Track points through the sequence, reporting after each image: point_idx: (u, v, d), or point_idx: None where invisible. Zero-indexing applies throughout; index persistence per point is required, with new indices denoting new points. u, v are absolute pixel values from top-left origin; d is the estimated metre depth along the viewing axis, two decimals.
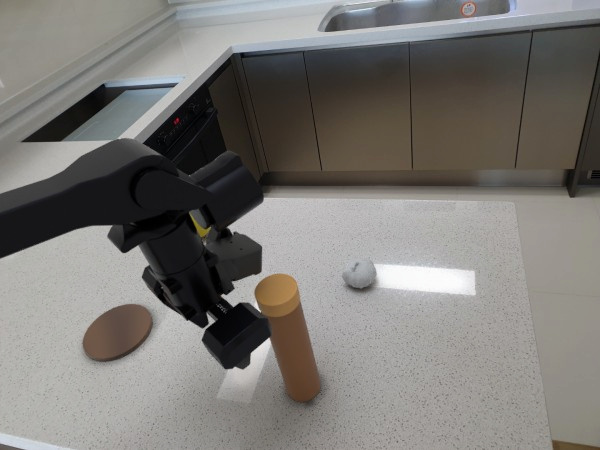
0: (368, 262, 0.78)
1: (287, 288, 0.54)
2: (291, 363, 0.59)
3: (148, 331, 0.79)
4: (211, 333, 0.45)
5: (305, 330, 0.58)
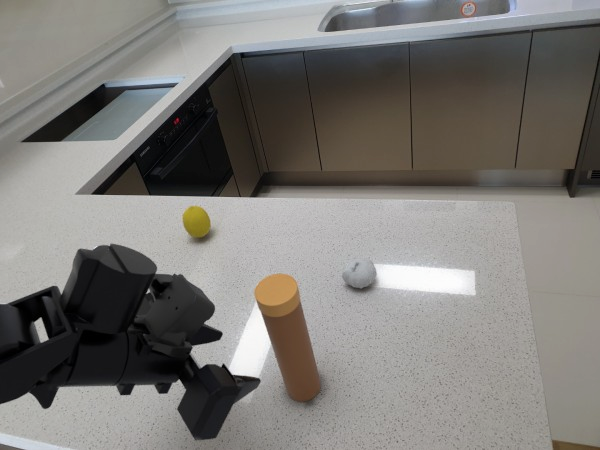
0: (368, 262, 0.78)
1: (287, 288, 0.54)
2: (291, 363, 0.59)
3: None
4: (181, 415, 0.44)
5: (305, 330, 0.58)
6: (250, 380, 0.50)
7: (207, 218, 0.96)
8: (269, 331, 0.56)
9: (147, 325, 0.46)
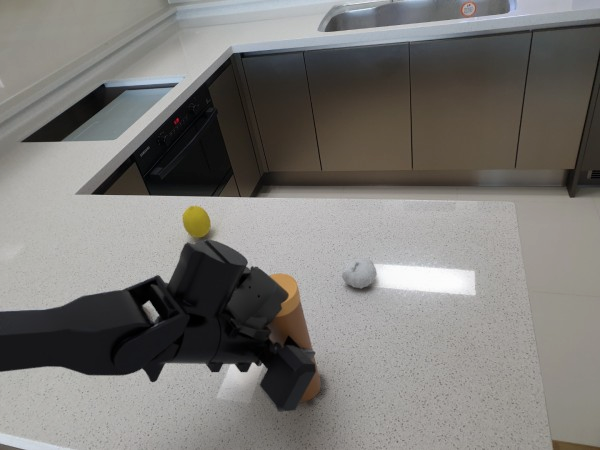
0: (368, 262, 0.78)
1: (287, 288, 0.54)
2: None
3: None
4: (264, 389, 0.50)
5: (305, 330, 0.58)
6: (308, 351, 0.57)
7: (207, 218, 0.96)
8: None
9: (231, 311, 0.52)
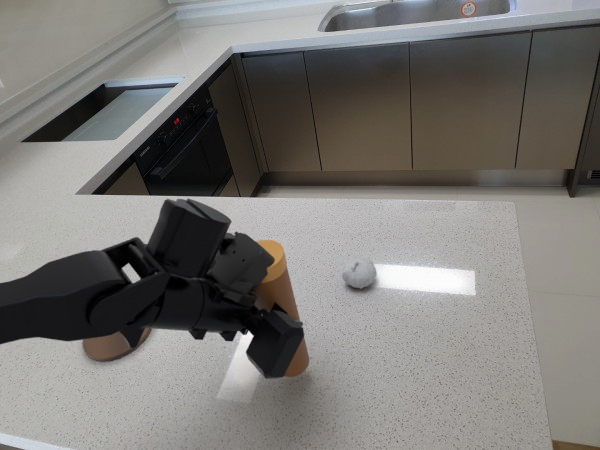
0: (368, 262, 0.78)
1: (273, 253, 0.52)
2: None
3: (148, 331, 0.79)
4: (250, 356, 0.48)
5: (292, 299, 0.56)
6: (295, 321, 0.56)
7: None
8: None
9: (215, 277, 0.50)
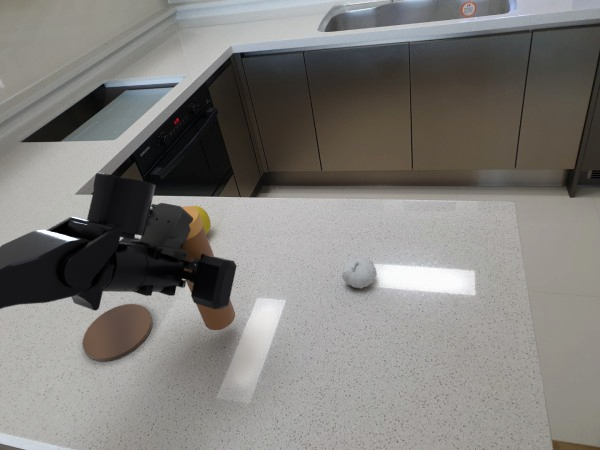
0: (368, 262, 0.78)
1: None
2: None
3: (148, 331, 0.79)
4: (197, 296, 0.57)
5: (212, 253, 0.65)
6: None
7: (207, 218, 0.96)
8: None
9: (146, 242, 0.57)
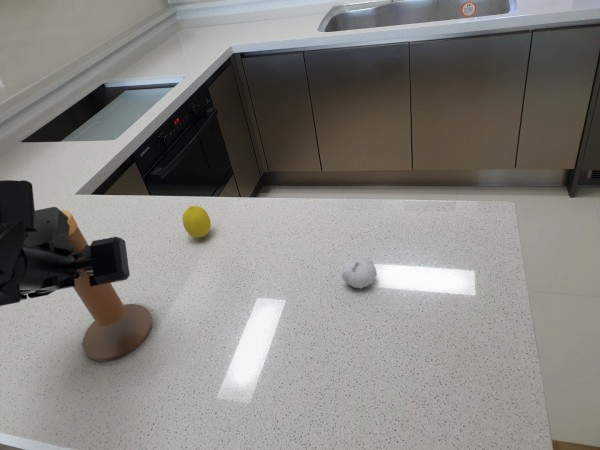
0: (368, 262, 0.78)
1: None
2: None
3: (148, 331, 0.79)
4: (100, 275, 0.63)
5: None
6: None
7: (207, 218, 0.96)
8: None
9: (33, 245, 0.61)
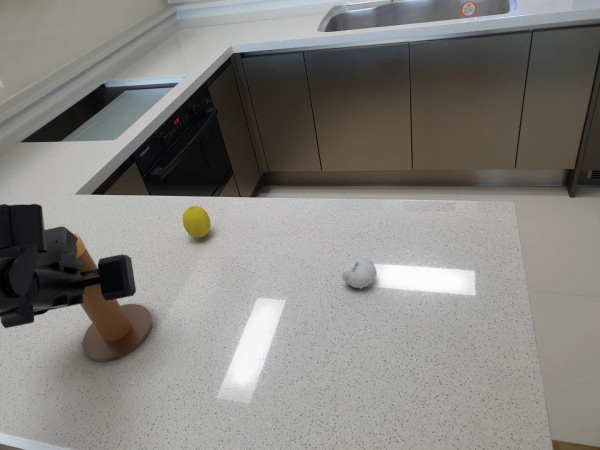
0: (368, 262, 0.78)
1: None
2: (104, 299, 0.74)
3: (148, 331, 0.79)
4: (108, 292, 0.66)
5: None
6: None
7: (207, 218, 0.96)
8: None
9: (43, 265, 0.63)
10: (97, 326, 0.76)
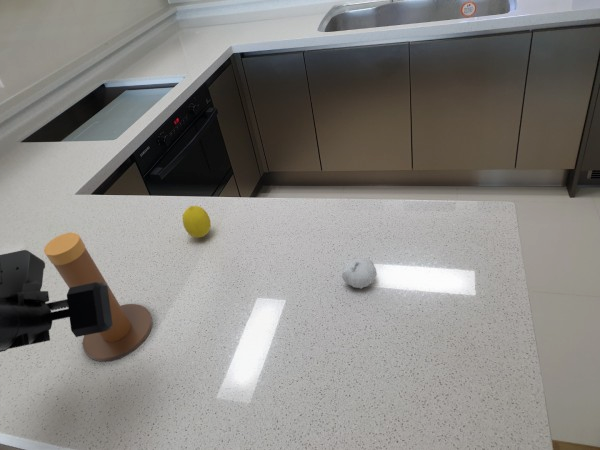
0: (368, 262, 0.78)
1: (70, 237, 0.69)
2: None
3: (148, 331, 0.79)
4: (78, 328, 0.56)
5: None
6: None
7: (207, 218, 0.96)
8: (75, 280, 0.69)
9: (0, 297, 0.53)
10: None
